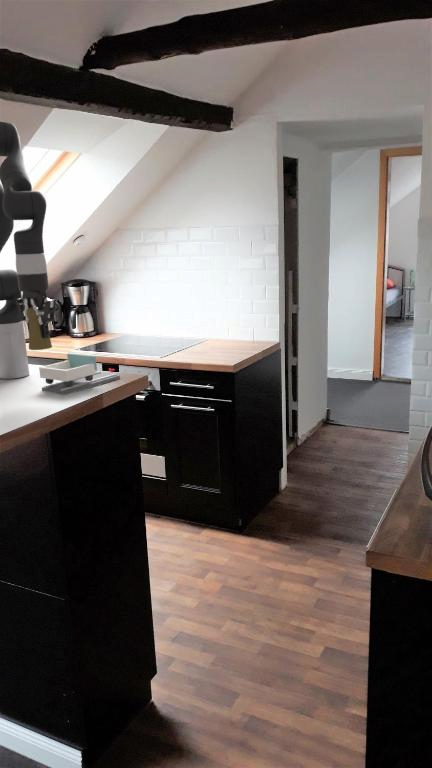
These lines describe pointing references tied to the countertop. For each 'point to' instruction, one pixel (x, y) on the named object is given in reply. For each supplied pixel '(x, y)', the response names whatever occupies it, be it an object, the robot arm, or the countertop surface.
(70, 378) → the cart
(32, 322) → the olive green pepper mill
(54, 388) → the rail board
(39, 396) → the countertop surface
